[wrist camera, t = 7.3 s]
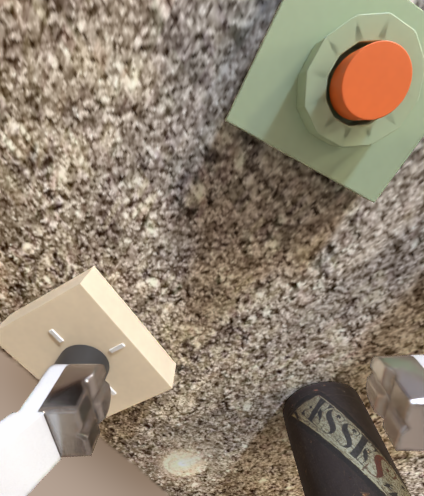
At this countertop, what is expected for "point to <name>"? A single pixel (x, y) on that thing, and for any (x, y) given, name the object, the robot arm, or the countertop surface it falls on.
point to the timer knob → (83, 356)
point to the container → (338, 444)
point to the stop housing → (317, 90)
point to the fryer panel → (90, 338)
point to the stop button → (371, 81)
